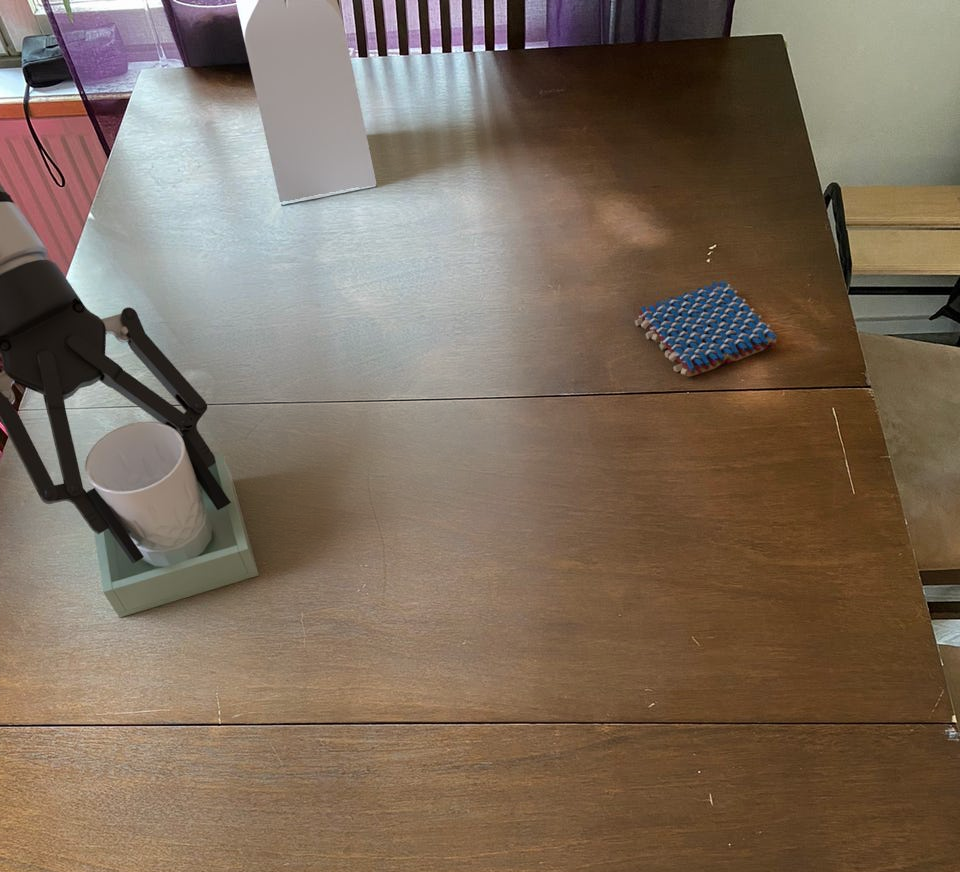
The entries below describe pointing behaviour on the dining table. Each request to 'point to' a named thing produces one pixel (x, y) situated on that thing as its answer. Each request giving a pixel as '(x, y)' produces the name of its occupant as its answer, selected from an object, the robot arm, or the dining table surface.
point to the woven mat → (706, 329)
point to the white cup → (152, 491)
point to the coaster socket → (209, 570)
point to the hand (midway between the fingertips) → (181, 532)
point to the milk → (306, 96)
